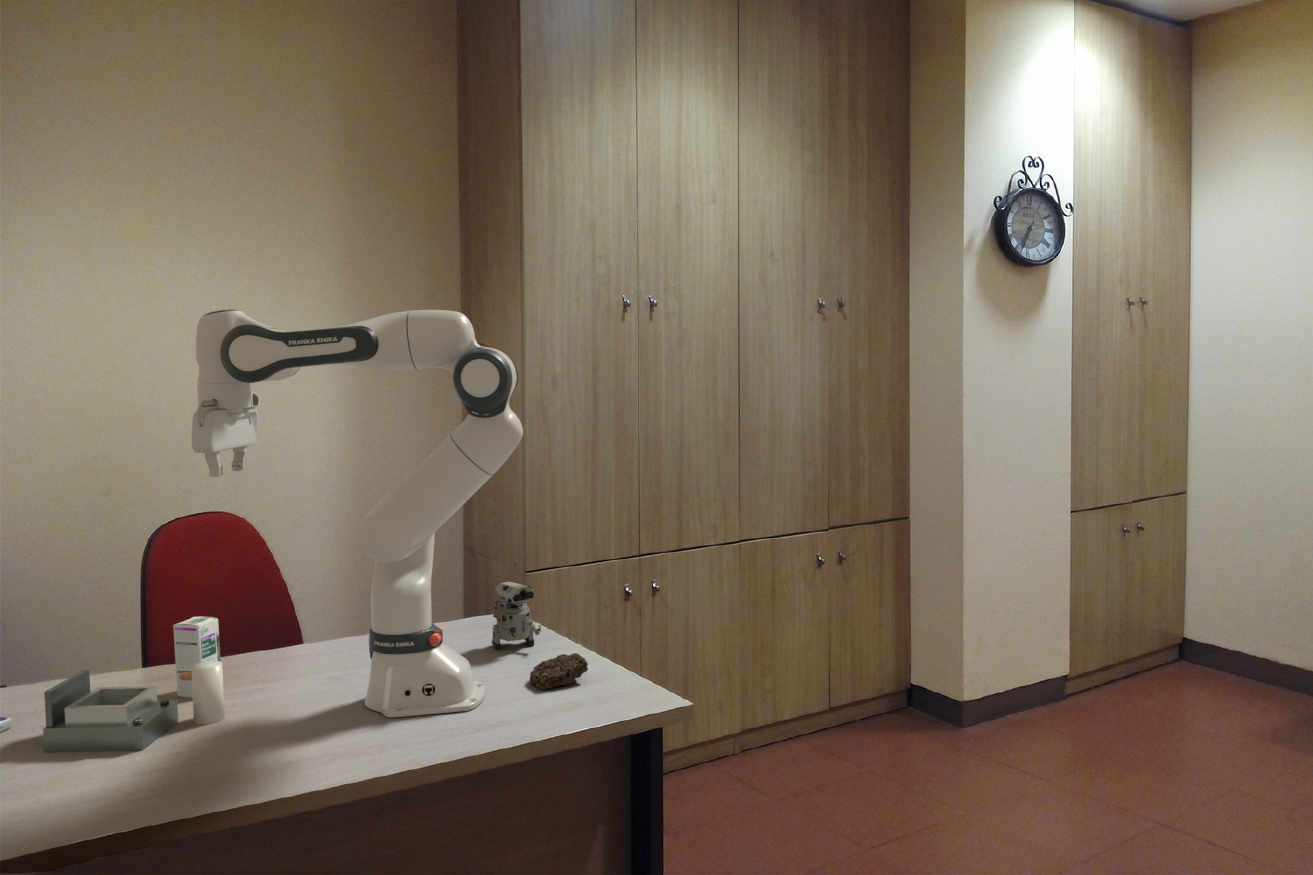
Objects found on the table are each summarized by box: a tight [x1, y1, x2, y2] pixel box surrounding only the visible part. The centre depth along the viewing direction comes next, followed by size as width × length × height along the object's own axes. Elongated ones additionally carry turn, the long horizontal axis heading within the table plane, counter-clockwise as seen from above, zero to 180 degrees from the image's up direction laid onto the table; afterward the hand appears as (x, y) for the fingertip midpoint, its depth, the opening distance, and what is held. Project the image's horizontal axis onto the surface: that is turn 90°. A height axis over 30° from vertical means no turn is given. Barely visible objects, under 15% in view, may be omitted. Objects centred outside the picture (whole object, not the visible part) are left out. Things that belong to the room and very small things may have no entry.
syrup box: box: [172, 616, 221, 699], centre depth 176 cm, size 6×6×14 cm
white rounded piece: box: [179, 660, 225, 726], centre depth 162 cm, size 7×5×10 cm
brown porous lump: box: [529, 652, 589, 691], centre depth 182 cm, size 12×10×5 cm
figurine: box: [491, 581, 542, 651], centre depth 204 cm, size 9×12×15 cm
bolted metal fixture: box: [42, 669, 179, 753], centre depth 155 cm, size 16×12×10 cm
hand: (227, 473), depth 167 cm, fingers open, 8 cm apart
